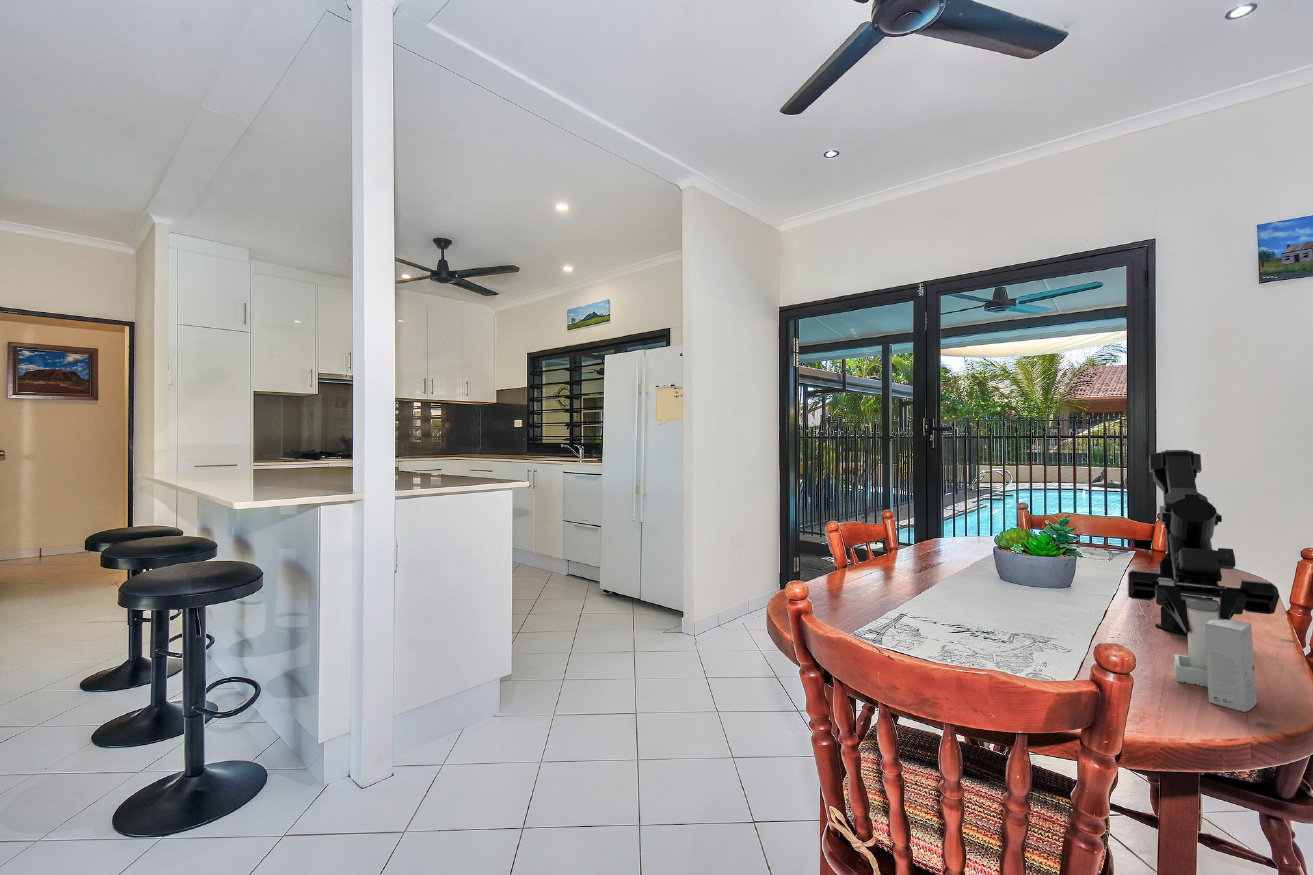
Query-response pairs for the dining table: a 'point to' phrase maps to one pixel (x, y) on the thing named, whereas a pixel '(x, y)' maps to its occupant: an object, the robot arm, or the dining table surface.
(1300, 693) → the dining table surface
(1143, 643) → the dining table surface
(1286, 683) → the dining table surface
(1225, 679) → the skincare box
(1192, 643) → the cylinder
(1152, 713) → the dining table surface
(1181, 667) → the tray
